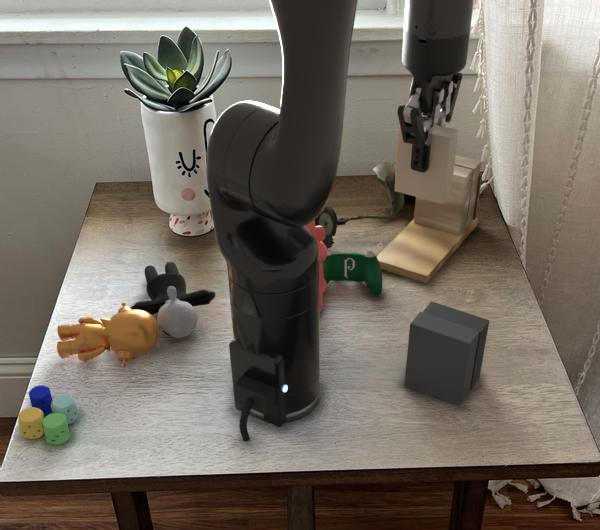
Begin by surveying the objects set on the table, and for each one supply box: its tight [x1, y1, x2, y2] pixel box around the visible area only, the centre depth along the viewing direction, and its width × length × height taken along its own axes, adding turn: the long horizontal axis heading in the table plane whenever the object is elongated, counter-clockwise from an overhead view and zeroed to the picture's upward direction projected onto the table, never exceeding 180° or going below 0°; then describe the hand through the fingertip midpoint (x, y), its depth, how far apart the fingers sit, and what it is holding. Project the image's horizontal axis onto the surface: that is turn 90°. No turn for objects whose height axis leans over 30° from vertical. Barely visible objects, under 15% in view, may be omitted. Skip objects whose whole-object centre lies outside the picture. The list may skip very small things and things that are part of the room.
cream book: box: [394, 124, 459, 204], centre depth 105 cm, size 2×7×9 cm, turn 58°
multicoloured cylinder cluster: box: [17, 384, 80, 446], centre depth 90 cm, size 8×3×6 cm
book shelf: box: [376, 154, 483, 284], centre depth 113 cm, size 17×8×10 cm, turn 148°
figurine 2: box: [129, 261, 216, 339], centre depth 104 cm, size 11×6×15 cm
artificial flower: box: [314, 160, 405, 249], centre depth 120 cm, size 9×22×10 cm, turn 127°
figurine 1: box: [56, 301, 160, 368], centre depth 98 cm, size 8×6×12 cm
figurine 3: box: [305, 220, 328, 313], centre depth 101 cm, size 5×5×15 cm
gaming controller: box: [322, 249, 383, 297], centre depth 109 cm, size 9×4×6 cm
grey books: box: [404, 300, 490, 407], centre depth 92 cm, size 6×7×9 cm
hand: (424, 164), depth 105 cm, fingers closed on cream book, 2 cm apart
